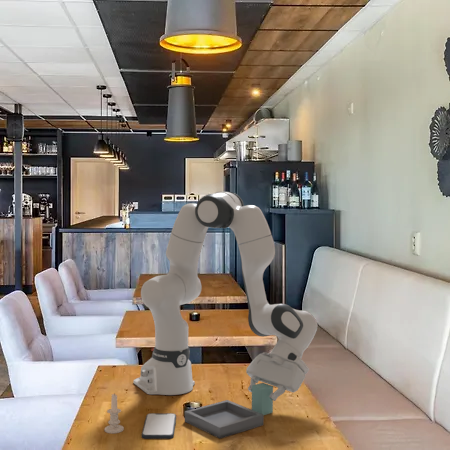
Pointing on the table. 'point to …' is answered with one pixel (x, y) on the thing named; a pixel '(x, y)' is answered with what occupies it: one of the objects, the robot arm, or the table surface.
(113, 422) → the candle
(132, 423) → the table surface
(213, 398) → the table surface
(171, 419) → the smartphone
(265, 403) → the sage block
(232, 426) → the charcoal tray
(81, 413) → the table surface
